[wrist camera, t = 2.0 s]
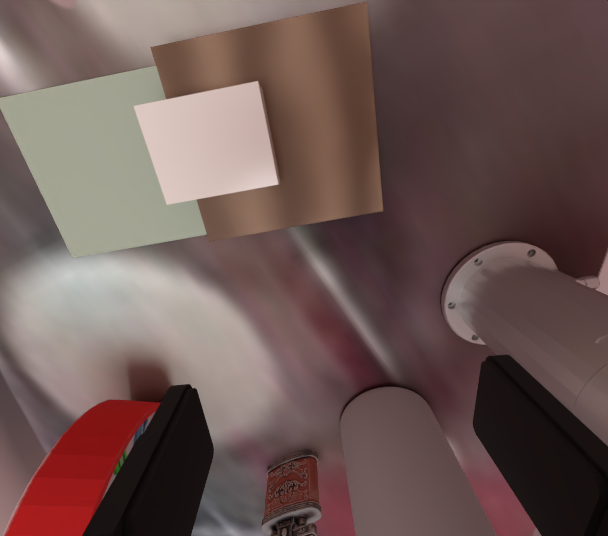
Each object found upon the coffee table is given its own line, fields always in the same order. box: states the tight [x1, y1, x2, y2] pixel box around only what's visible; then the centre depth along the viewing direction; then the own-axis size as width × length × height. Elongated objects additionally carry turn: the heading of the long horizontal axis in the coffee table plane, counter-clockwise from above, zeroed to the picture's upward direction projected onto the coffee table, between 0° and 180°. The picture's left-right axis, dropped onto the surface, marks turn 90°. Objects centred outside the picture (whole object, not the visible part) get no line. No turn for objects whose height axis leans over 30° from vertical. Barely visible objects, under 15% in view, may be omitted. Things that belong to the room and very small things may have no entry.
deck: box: [151, 2, 383, 241], centre depth 25 cm, size 16×15×4 cm
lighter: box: [261, 450, 321, 536], centre depth 38 cm, size 8×3×10 cm, turn 119°
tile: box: [134, 81, 280, 205], centre depth 23 cm, size 9×7×2 cm
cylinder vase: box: [340, 387, 497, 536], centre depth 28 cm, size 12×12×25 cm
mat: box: [0, 66, 207, 258], centre depth 28 cm, size 15×15×1 cm
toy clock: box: [3, 400, 160, 536], centre depth 30 cm, size 20×6×20 cm, turn 175°
